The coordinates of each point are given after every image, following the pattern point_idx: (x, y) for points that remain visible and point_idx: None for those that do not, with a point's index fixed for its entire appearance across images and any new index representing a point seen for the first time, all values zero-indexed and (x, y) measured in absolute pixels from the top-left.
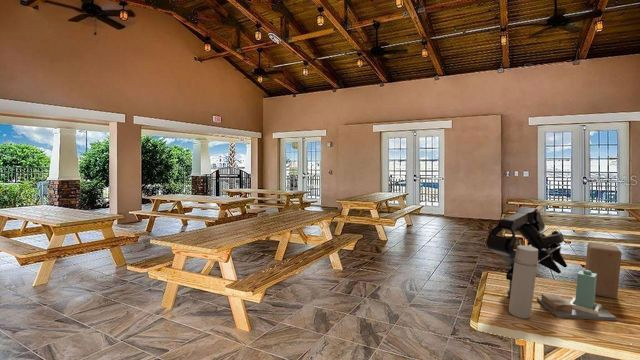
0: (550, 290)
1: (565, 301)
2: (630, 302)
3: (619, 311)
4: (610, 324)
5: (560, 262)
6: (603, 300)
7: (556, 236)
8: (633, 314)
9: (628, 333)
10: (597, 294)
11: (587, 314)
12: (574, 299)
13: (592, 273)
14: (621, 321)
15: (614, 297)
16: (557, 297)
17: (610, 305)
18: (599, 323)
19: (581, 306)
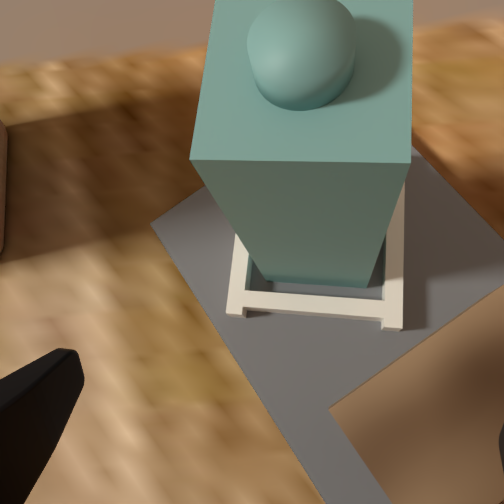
0: (71, 480)
1: (460, 339)
2: (19, 77)
3: (191, 100)
4: (437, 112)
5: (14, 466)
6: (67, 176)
7: None
8: (188, 50)
9: (493, 38)
10: (3, 205)
11: (447, 208)
12: (271, 296)
13: (242, 27)
14: None
15: (5, 131)
16: (410, 408)
17: (126, 141)
18: (475, 155)
19: (386, 242)
